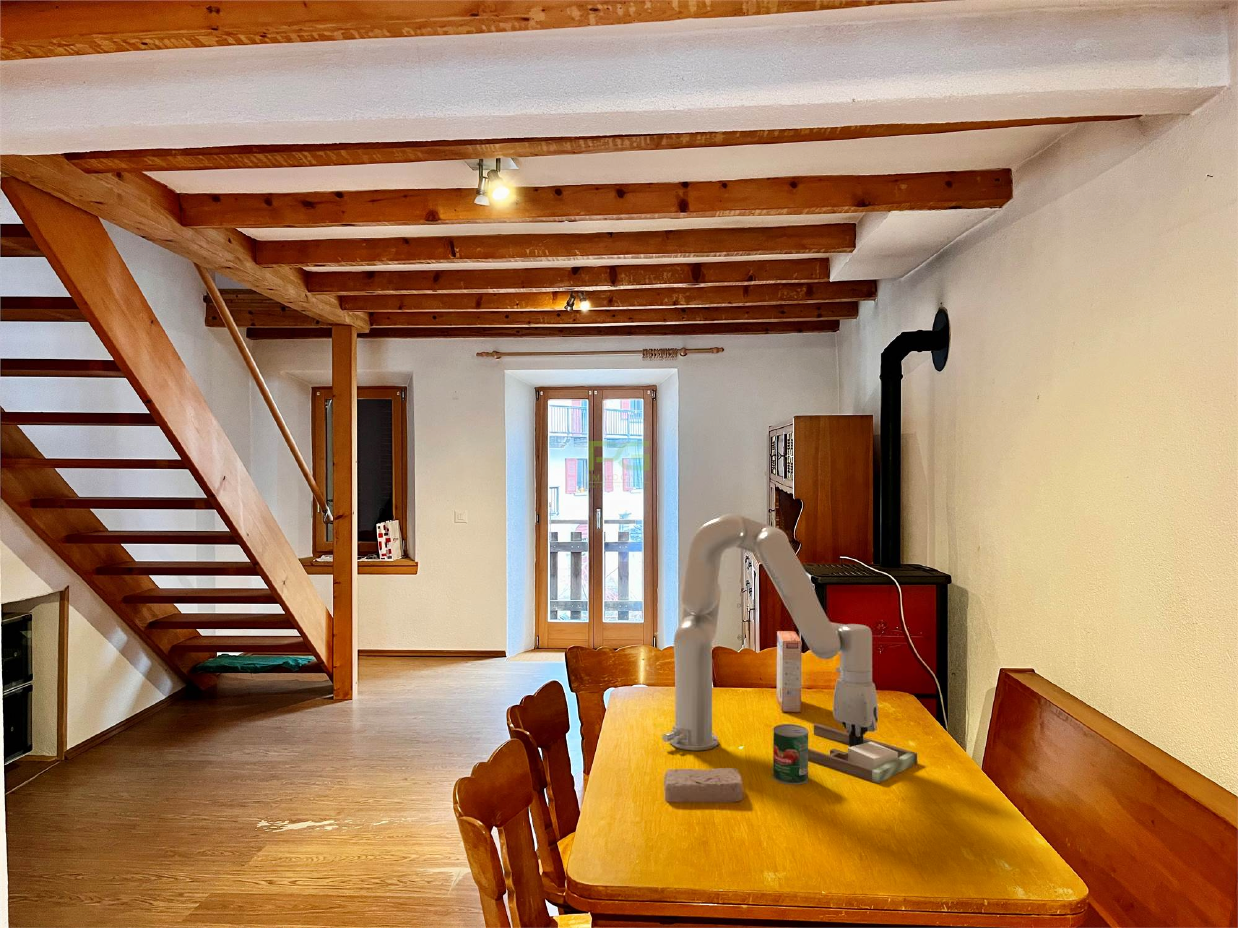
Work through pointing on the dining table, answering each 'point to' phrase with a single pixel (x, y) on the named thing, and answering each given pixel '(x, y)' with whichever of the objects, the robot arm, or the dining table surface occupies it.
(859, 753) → the cream block
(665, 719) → the dining table surface
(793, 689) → the cracker box
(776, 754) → the canned tomato
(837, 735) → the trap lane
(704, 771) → the brick
